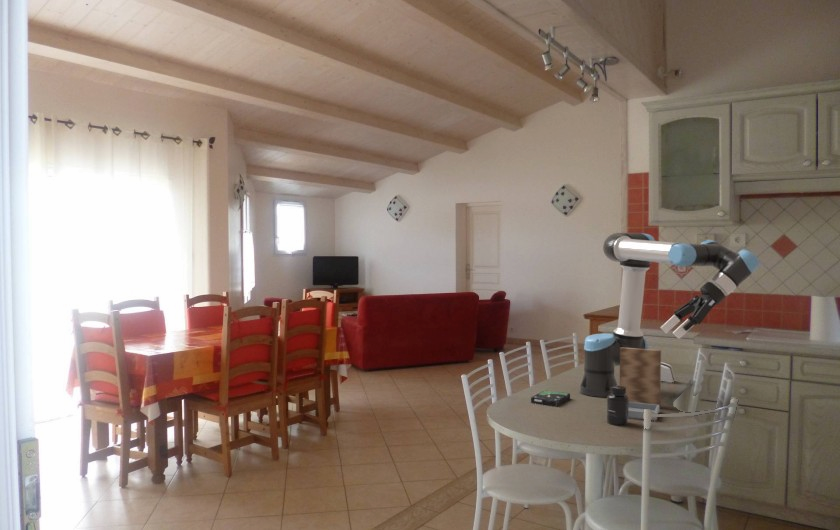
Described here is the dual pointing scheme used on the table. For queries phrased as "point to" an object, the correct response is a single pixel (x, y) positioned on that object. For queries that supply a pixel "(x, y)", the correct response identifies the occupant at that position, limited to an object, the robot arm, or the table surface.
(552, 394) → the disk drive
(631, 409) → the tray
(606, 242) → the robot arm
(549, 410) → the table surface
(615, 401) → the supplement bottle
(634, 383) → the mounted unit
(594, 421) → the table surface
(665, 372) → the white black curved block
